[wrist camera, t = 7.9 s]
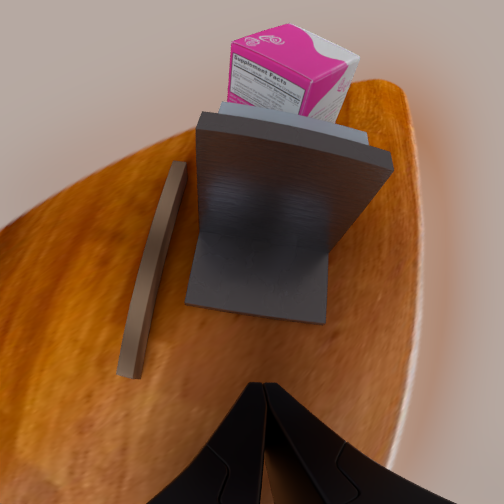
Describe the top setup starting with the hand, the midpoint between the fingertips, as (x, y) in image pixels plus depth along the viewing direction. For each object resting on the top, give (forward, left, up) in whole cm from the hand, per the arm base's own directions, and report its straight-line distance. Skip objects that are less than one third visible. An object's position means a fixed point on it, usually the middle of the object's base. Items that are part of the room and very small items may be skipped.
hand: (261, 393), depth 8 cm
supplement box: (+17, 0, -10) cm, 20 cm away
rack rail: (+7, +6, -10) cm, 14 cm away
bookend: (+8, -1, -10) cm, 13 cm away
